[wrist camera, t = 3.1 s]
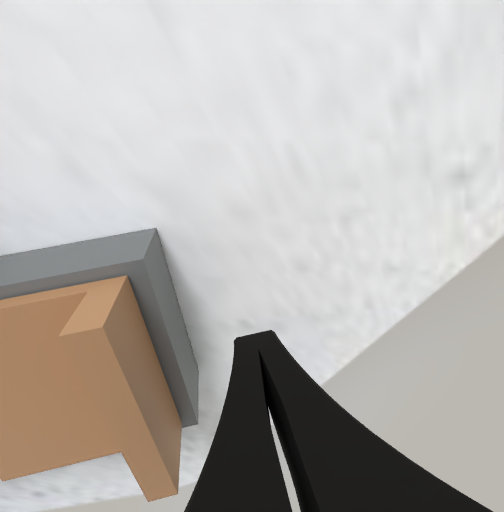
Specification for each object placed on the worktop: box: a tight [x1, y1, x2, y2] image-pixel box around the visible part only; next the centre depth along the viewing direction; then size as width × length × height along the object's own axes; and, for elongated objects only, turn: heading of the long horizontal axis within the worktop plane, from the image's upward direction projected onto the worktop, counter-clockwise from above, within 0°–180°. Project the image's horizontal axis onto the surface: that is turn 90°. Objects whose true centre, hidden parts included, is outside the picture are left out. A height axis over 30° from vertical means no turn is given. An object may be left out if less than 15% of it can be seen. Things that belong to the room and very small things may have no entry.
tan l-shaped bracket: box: [0, 275, 182, 502], centre depth 9 cm, size 7×7×3 cm
